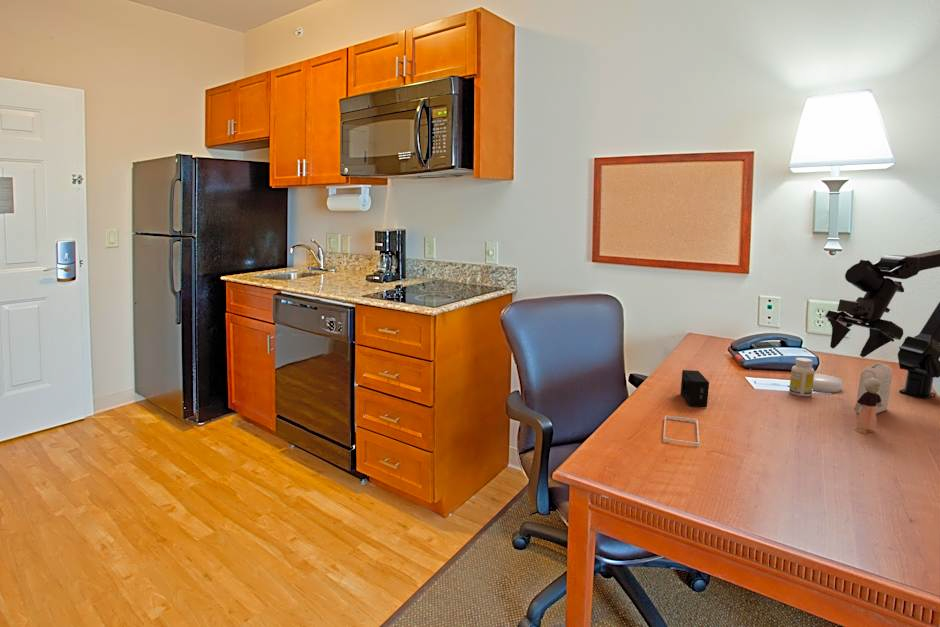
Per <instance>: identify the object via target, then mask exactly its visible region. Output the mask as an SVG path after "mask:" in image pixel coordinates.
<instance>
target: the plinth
mask: <svg viewBox="0 0 940 627" xmlns="http://www.w3.org/2000/svg"><path fill="white" fill-rule="evenodd" d="M842 386H843V379H841V378H839V377H837V376H834V375H833V376H832V375H829V374H823V373H815V372H814V378H813V387H812V389H813V390H812V391H816V390H817V392H821V391H823V393H839V392H842Z"/></svg>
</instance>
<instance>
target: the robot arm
mask: <svg viewBox="0 0 940 627" xmlns="http://www.w3.org/2000/svg"><path fill="white" fill-rule="evenodd" d="M935 268H940V249H939V250H933V251H928V252H927V251H926V252H924V253H918V254H911V255H896V254H892V255H891V254H884V255H883V256H881V257H880V259H879V260H877V261H875V262H874V263H872V262H871V261H870V260H868V259H860V260H859V262H858V263H855V264H853V265H852V266H850V267H849V268H847V270H846V271H845V274H844V278H845V280H846V282H848V283H849V284H851V285H853V286H854V287H855V288H857V289H858V290H860V291H862V292H864V296H859V297H858V298H857V299H856V300H848V299H839V303H838V306H837V309H836V308H831V309H829V310H828V311H827V313H826V314H825V318H827V322H829V323H830V325H831V337H830V338H831V340H830V345H829V346H830V348H831V349H835V348H836V347H837V346H838V345H839V344H840V343H841V342H842V340H844V338H845V337H846V336H847V334H848V333H849V332H850V331H852V330H851V328H850V327H852V326H858V327H861V328H867V329H869V330H868V332H869V336H868V338H867V340H866V341H865V343H864V345H863V347H862V349H861V351H860V355H859V356H860V357H861V358H865V357H867V356H868V355H870V354H871V353H873V352H874V351H876V350H878V349H879V348H881V347H883V346H885V345H887V344H889V343H890V342H895V340H898V341H900V340H901V339H902V337H903V335H904V329H903V328H902V327H901V326H899V325H898V324H896V323H895V322H893V321H890V320H886V319H881V318H882V316H884V314H885V313H887V314H889V313H890V311H891V309H890V308H889V305H890V304H891V301H892V300H893V298H894V296H895V295H896V293H897V292H898V293H904V292H905V288H904V286H903V283H902V281H899V280H900V279H901V280H907V279H909V278H912V277H914V276H917V275H918V274H919V272H921V271H925V270H930V269H935ZM893 279H899V280H898V281H897V280H893ZM902 342H903V343H902V344H901V345H900V346H899V347H898V349H899V350H898V352H897V359H898V360H897V361H898V366H899V369H900V370H903V371H906V379H905V384H904V388H902V389H899V390H898V392H899V393H901V394H906V395H910V396H914V397H917V396H918V397H917V398H921V397H923V398H922V399H929V398H931V397H930V396H932V395H935V396H936V395H937V393H936V392H932V387H933V383H934V378H936V379H938V378H940V301H939V302H938V303H937V305H936V307H935V308H934V310H933V312H932V313H931V315H930V317H929V318H928V319H927V321H926V323H925V324H924V325H923V327H922V329H921V331H920V332H919V333H918V334H917V335H915V336H914V337H913V336H909V335H908V336H906V337H905V338H904V340H903V341H902ZM928 397H929V398H928ZM932 397H933V396H932Z"/></svg>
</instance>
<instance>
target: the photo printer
mask: <svg viewBox="0 0 940 627" xmlns="http://www.w3.org/2000/svg"><path fill="white" fill-rule="evenodd" d="M893 374H894V373H893V369H892V368H891V366H890V365H888V364H886V363H882V362H875V363H872V364H870V365H868V366H866V367H865V368H864V369H863V370H861V373H860V377H859V382H858V388H857V389H858V391H857V395H856V403H857V401H858V400H859V398H860V397H861V396H862V395H863V394H864V393H865V392H867V391H866V388H865V387H864V381H865V380H866V379H869V378H875V379H878V380H879V381H880V382H881V386H880V387H879V391H878V392H877V394H878V395H879V396H880V398H881V404H882V407H877V404H876V414H878V413H881V412H884V411H886V410H887V408H888V405H889V404H888V403H889V398H890V392H891V387H892V386H891V385H892V380H893ZM856 403H855V404H856ZM861 409H862V405H861V407H860V408H859V410H858V411H856V412H857V413H858V414H859V413H860V411H861Z"/></svg>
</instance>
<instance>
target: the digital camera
mask: <svg viewBox="0 0 940 627" xmlns="http://www.w3.org/2000/svg"><path fill="white" fill-rule="evenodd" d="M709 388H710V381H709V380H708V379H707V378H706V377H705V376H704V375H703V373H701V372H700V371H699V370H690V369H688V370H687V369H682V372H681V384H680V393H679V394H680V395H681V397H682V398H683V400H684V399H685V400H684V401H685V402H686V404H687V405H688V407H689V406H690V408H702V407H707V408H708V400H709V390H710V389H709Z"/></svg>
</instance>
